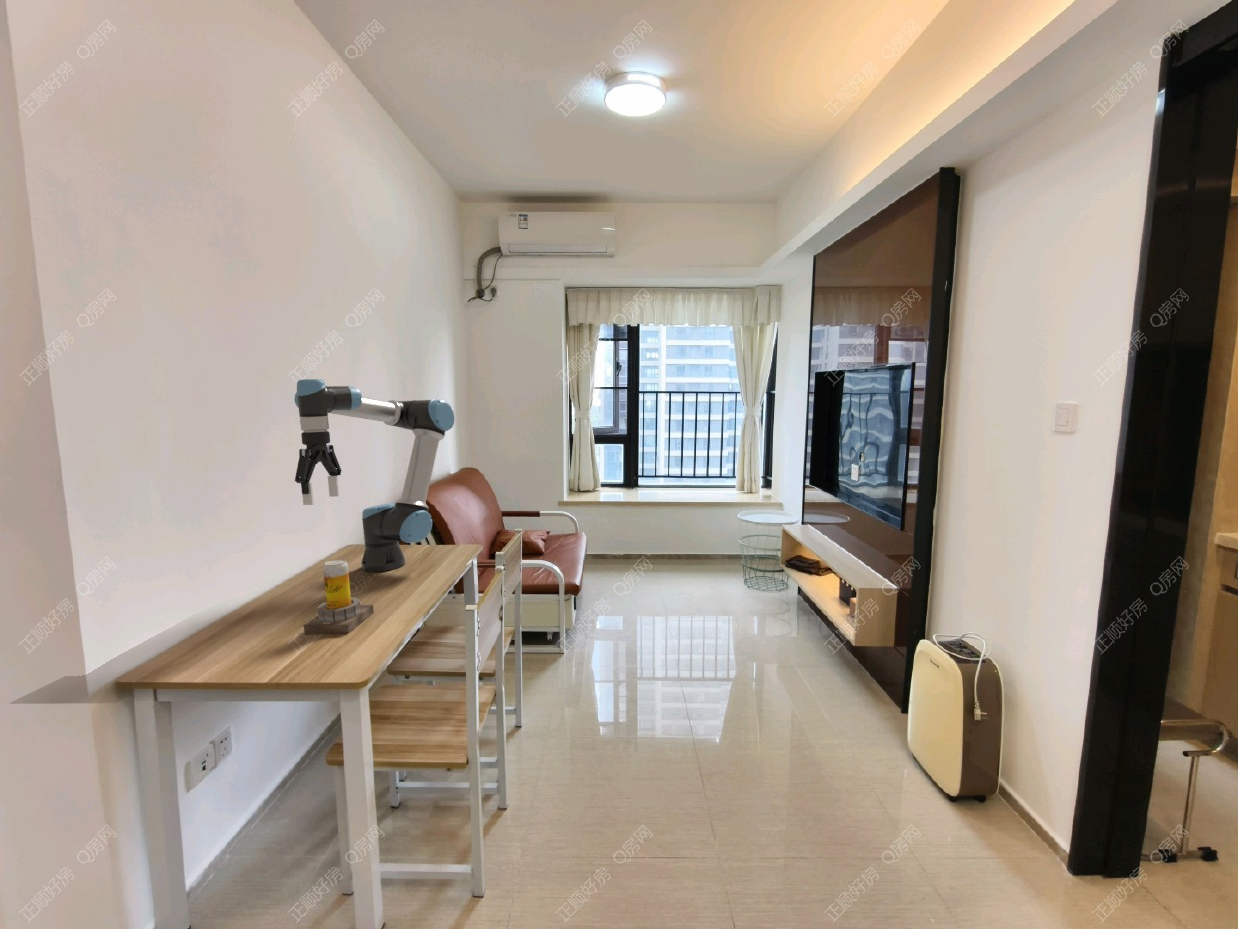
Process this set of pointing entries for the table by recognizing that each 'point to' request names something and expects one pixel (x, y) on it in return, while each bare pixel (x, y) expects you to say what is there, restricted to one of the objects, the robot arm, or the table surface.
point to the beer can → (337, 584)
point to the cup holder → (338, 618)
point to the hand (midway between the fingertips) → (322, 500)
